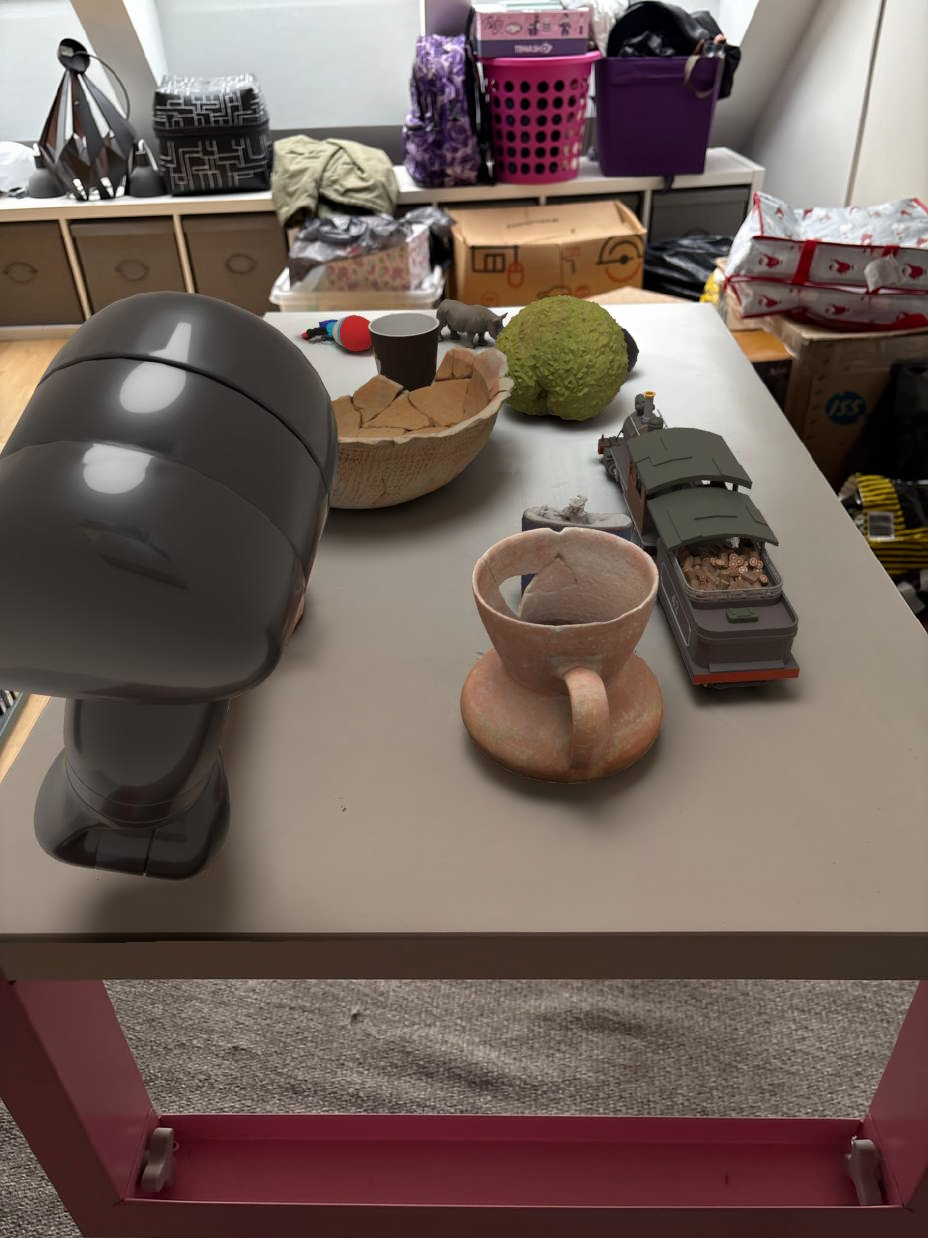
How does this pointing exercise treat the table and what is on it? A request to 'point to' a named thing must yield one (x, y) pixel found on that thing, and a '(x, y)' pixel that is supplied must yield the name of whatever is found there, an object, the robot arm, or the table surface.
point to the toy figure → (345, 332)
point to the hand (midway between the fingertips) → (216, 525)
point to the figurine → (630, 349)
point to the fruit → (564, 358)
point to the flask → (573, 523)
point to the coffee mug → (406, 348)
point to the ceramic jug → (564, 657)
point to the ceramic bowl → (417, 430)
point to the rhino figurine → (468, 321)
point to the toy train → (704, 549)
